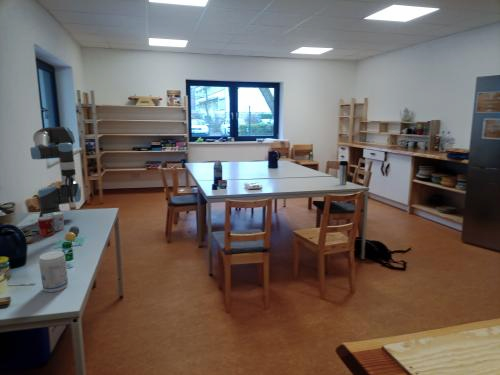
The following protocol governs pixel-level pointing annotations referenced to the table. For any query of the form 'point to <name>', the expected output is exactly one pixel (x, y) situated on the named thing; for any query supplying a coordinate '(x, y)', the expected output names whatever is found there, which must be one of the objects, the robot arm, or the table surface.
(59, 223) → the light bulb box
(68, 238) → the orange ball
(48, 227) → the canned food
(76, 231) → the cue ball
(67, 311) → the table surface
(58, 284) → the supplement tub
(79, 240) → the teal mark
